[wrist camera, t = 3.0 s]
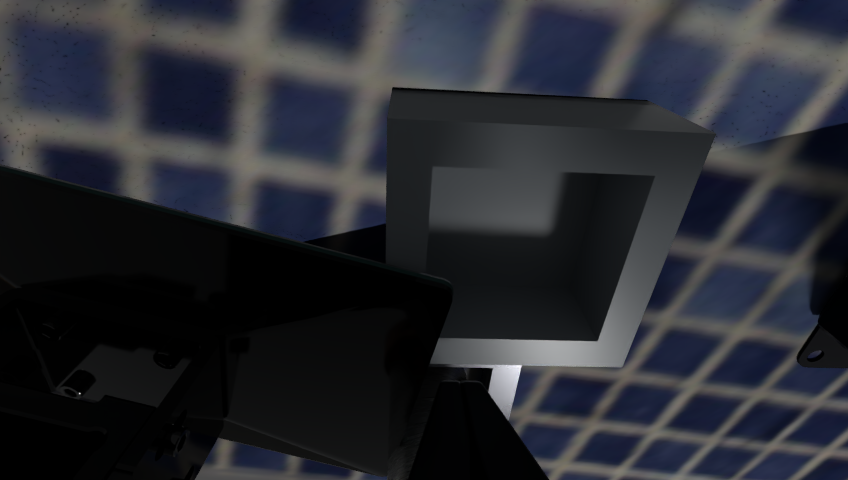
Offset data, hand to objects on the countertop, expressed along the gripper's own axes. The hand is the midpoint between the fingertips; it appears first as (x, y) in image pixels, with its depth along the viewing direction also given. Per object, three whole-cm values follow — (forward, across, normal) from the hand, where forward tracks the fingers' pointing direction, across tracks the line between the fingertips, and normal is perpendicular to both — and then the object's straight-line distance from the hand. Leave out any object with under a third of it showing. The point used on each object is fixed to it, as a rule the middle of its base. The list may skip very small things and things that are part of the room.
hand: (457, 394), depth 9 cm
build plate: (+4, +7, -1) cm, 8 cm away
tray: (+4, -1, -2) cm, 5 cm away
